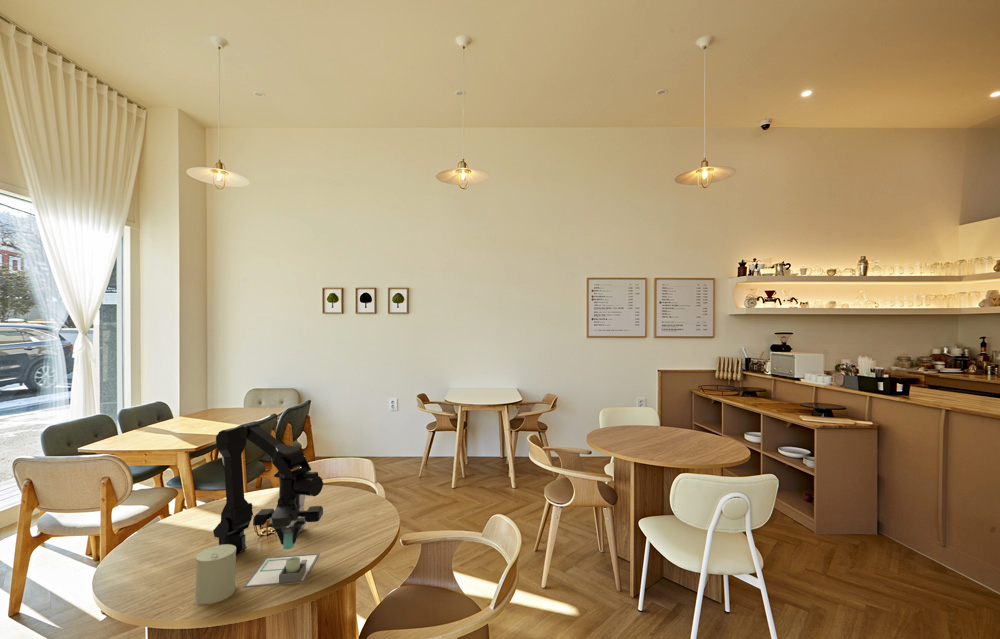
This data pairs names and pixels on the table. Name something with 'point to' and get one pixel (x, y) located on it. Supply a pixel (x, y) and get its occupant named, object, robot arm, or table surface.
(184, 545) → the table surface
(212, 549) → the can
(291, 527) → the teal cylinder
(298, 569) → the key
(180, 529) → the table surface
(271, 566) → the activity board
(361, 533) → the table surface
